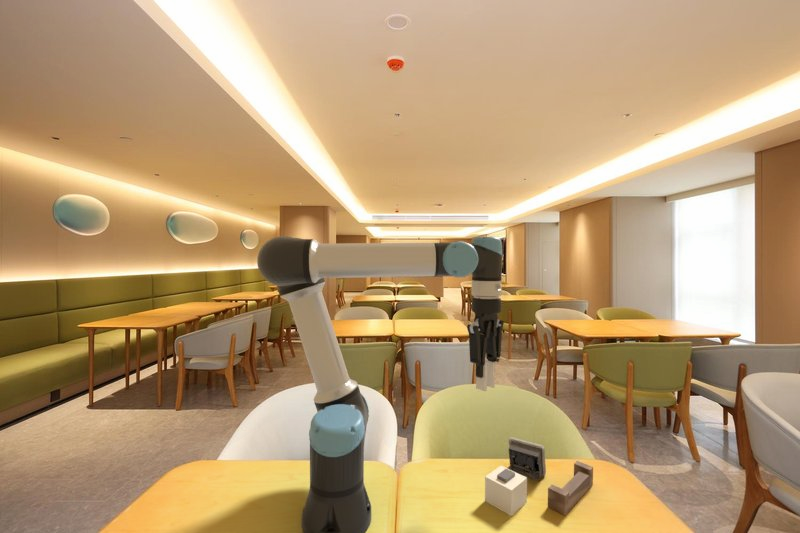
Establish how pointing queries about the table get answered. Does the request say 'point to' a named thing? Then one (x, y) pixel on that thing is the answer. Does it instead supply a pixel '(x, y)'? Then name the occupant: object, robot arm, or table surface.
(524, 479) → the socket block
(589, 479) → the bracket
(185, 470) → the table surface
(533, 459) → the electrical switch
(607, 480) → the table surface
